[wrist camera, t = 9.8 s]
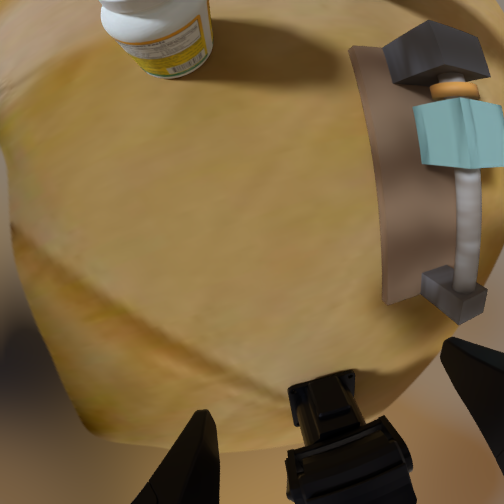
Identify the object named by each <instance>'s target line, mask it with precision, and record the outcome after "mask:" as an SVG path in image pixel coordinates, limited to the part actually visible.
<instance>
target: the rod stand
mask: <svg viewBox="0 0 504 504" xmlns="http://www.w3.org/2000/svg"><path fill="white" fill-rule="evenodd" d="M348 52H349V56H350V59H351V62H352V66H353V69H354V73H355V77H356V80H357V84H358V88H359V92H360V96H361V100H362V105H363V109H364V114H365V119H366V124H367V129H368V134H369V140H370V145H371V151H372V158H373V164H374V172H375V179H376V187H377V196H378V206H379V218H380V232H381V252H382V301H383V302H384V303H385V304H386V305H390V304H393V303H396V302H399V301H402V300H405V299H408V298H411V297H414V296H416V295H419V294H421V295H422V296H423V297H425V298H426V299H427V300H429V301H430V302H431V303H432V304H434V305H435V306H436V307H437V308H438V309H440V310H441V311H442V312H443V313H445V314H446V315H447V316H448V317H449V318H451V319H452V320H453V321H454V322H455V323H456V324H458V325H460V324H462V323H464V322H466V321H468V320H470V319H472V318H474V317H475V316H477V315H479V314H481V313H483V310H484V305H485V301H486V296H487V289H486V288H485V287H483V286H481V285H480V284H478V283H476V280H477V273H478V264H479V254H480V242H481V220H482V194H481V173H480V168H476V169H467V168H458V167H449V166H439V165H427V164H422V161H421V154H420V146H419V140H418V134H417V128H416V123H415V117H414V112H413V108H412V107H414V106H418V105H423V104H427V103H432V102H437V101H442V100H447V99H453V98H459V97H460V98H466V99H472V100H478V99H480V96H479V92H478V88H477V85H475V84H473V83H468V81H472V80H477V79H483V78H488V77H491V76H490V73H489V69H488V66H487V63H486V60H485V57H484V54H483V51H482V48H481V45H480V43H479V40H478V37H475V36H473V35H470V34H468V33H465V32H463V31H460V30H458V29H455V28H452V27H449V26H446V25H443V24H440V23H437V22H434V21H431V20H427V21H426V22H424V23H422V24H420V25H419V26H417V27H415V28H413V29H412V30H410V31H408V32H407V33H405V34H403V35H402V36H400V37H399V38H397V39H395V40H394V41H392V42H391V43H389V44H387V45H386V46H384V47H383V48H378V47H367V46H352V47H351V48H350V49H349V50H348Z"/></svg>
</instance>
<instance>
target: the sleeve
mask: <svg viewBox="0 0 504 504" xmlns="http://www.w3.org/2000/svg"><path fill="white" fill-rule="evenodd" d="M412 108H413V112H414V117H415V123H416V128H417V134H418V140H419V146H420V154H421V161H422V164H427V165H439V166H449V167H458V168H467V169H476V168H489V167H504V117H503V112H502V107H501V106H500V105H496V104H492V103H487V102H482V101H477V100H472V99H466V98H460V97H459V98H453V99H447V100H442V101H437V102H432V103H427V104H423V105H418V106H414V107H412Z"/></svg>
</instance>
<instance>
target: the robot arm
mask: <svg viewBox="0 0 504 504" xmlns="http://www.w3.org/2000/svg"><path fill="white" fill-rule="evenodd" d="M440 359H441V362H442V364H443V366H444V368H445V370H446V372H447V374H448V376H449V378H450V379H451V382H452V383H453V386H454V387H455V389H456V391H457V392H458V394H459V396H460V397H461V399H462V401H463V402H464V404H465V405H466V407H467V409H468V410H469V412H470V414H471V415H472V417H473V419H474V420H475V422H476V424H477V425H478V427H479V429H480V431H481V432H482V434H483V436H484V438H485V440H486V442H487V443H488V445H489V447H490V449H491V451H492V453H493V455H494V457H495V458H496V461H497V463H498V465H499V467H500V469H501V471H502V473H503V475H504V353H502V352H499V351H496V350H493V349H490V348H487V347H484V346H480V345H477V344H474V343H471V342H468V341H465V340H462V339H459V338H455V337H450V338H448V339H446V340H445V341H444V342H443V346H442V350H441V355H440ZM349 375H350V376H349ZM354 389H355V373H354V371H353V370H349V371H346V372H343V373H339V374H336V375H332V376H329V377H326V378H322V379H318V380H315V381H311V382H307V383H303V384H299V385H295V386H291V387H289V388H288V395H289V401H290V406H291V411H292V417H293V422H294V426H296V427H299V426H300V429H301V432H302V436H303V440H304V444H305V447H302V448H298V449H295V450H294V449H291V450H288V451H287V452H288V458H286V460H285V465H286V470H287V492H286V495H287V498H288V499H289V500H291V501H293V502H295V504H416V503H417V498H416V495H415V493H414V490H413V487H412V483H411V479H410V476H409V472H411V471H412V470H413V463H412V458H411V455H410V452H409V450H408V448H407V445H406V444H405V442H404V441H403V439H402V438H401V436H400V435H399V434H398V432H397V431H396V430H395V428H394V427H393V426H392V424H391V423H390V422H389V421H388V419H387V418H386V417H385V415H383V416H381V417H379V418H378V419H377V420H374V421H372V422H370V423H368V424H366V422H365V420H364V418H363V416H362V414H361V412H360V410H359V408H358V406H357V404H356V402H355V400H354ZM219 483H220V459H219V449H218V440H217V430H216V424H215V422H214V420H213V418H212V416H211V414H210V412H209V411H208V410H207V409H204V410H197V411H196V412H195V413H194V414H193V416H192V417H191V419H190V420H189V422H188V424H187V425H186V427H185V428H184V430H183V431H182V433H181V434H180V436H179V437H178V439H177V440H176V442H175V443H174V445H173V446H172V448H171V449H170V450H169V452H168V453H167V455H166V456H165V458H164V459H163V461H162V462H161V464H160V465H159V467H158V468H157V469H156V471H155V472H154V474H153V475H152V477H151V478H150V479H149V482H147V483H146V485H145V486H144V488H143V489H142V490H141V492H140V493H139V494H138V495H137V497H136V498H135V499H134V501H133V502H132V503H131V504H219V489H220V488H219V487H220V484H219Z"/></svg>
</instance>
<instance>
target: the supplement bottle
mask: <svg viewBox="0 0 504 504" xmlns="http://www.w3.org/2000/svg"><path fill="white" fill-rule="evenodd" d="M99 1H100V3H101V4H102V9H101V21H102V24H103V26H104V28H105V30H106V31H107V32H108V34H109V35H110V36H111V37H112V38H113V39H114V40H115V41H116V42H117V43H118V44H119V45H120V46H121V47H122V48H123V49H124V50H125V51H126V52H127V53H128V54H129V55H130V56H131V57H132V58H133V59H134V60H135V61H136V63H137V64H138V65H139V66H140V67H141V68H142V69H143V70H144V71H145V72H147V73H148V74H150V75H152V76H154V77H158V78H164V79H171V78H177V77H181V76H184V75H187V74H189V73H191V72H193V71H195V70H196V69H198V68H199V67H200V66H201V65H202V64H203V63H204V62H205V61H206V60H207V58H208V57H209V55H210V53H211V51H212V47H213V32H212V24H211V16H210V6H209V0H99Z"/></svg>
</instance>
